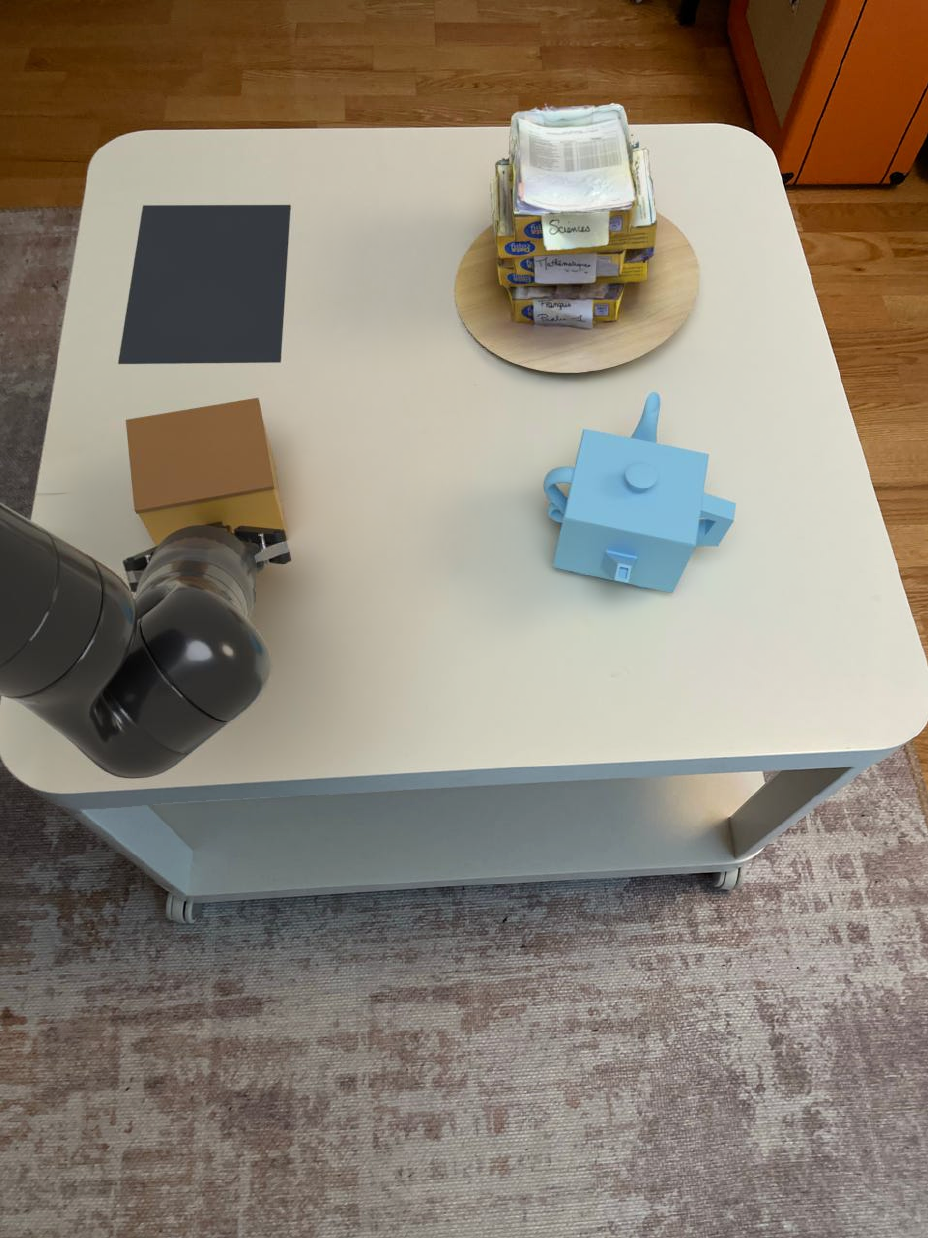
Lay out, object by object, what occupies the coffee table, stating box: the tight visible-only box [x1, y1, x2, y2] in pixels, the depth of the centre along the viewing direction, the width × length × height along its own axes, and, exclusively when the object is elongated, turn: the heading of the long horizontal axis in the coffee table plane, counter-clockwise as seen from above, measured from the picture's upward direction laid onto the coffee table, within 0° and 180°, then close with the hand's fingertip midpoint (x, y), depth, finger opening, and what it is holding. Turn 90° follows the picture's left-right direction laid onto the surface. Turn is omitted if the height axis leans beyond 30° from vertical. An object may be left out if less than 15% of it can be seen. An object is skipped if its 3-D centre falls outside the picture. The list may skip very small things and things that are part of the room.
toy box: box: [125, 397, 289, 547], centre depth 82 cm, size 9×11×9 cm
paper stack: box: [454, 102, 701, 374], centre depth 91 cm, size 25×25×17 cm
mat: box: [117, 204, 292, 365], centre depth 98 cm, size 16×22×1 cm
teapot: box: [543, 391, 737, 594], centre depth 81 cm, size 16×18×11 cm
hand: (216, 534), depth 80 cm, fingers closed
